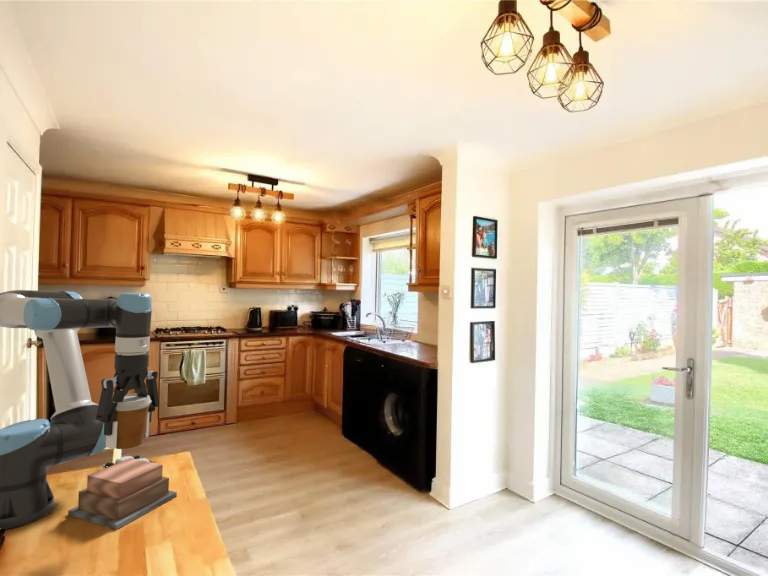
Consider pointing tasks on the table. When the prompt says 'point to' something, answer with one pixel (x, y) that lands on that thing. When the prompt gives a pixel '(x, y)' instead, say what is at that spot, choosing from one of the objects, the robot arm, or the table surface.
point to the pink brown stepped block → (122, 493)
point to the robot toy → (126, 459)
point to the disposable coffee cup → (131, 420)
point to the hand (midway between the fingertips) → (127, 441)
